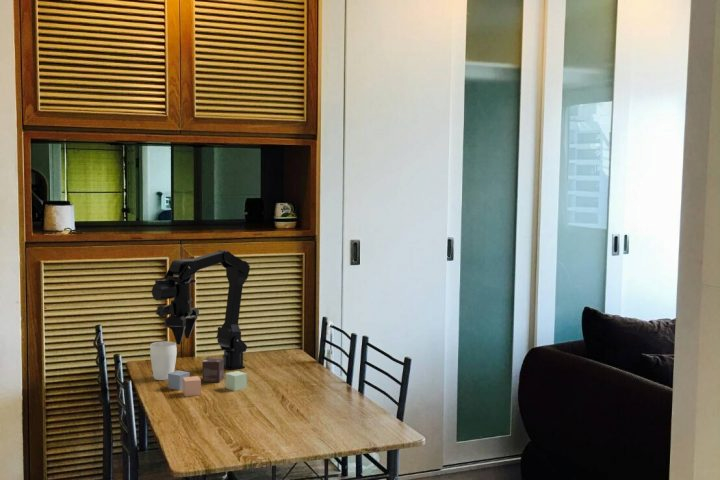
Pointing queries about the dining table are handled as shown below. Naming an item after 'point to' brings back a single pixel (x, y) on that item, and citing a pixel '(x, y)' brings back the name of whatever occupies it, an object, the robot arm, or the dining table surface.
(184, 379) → the cube terracotta
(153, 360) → the cup
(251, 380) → the dining table surface
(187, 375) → the cube slate
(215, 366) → the box
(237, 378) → the cube sage
